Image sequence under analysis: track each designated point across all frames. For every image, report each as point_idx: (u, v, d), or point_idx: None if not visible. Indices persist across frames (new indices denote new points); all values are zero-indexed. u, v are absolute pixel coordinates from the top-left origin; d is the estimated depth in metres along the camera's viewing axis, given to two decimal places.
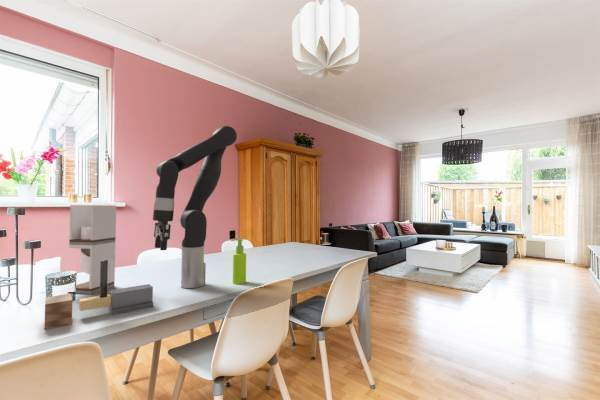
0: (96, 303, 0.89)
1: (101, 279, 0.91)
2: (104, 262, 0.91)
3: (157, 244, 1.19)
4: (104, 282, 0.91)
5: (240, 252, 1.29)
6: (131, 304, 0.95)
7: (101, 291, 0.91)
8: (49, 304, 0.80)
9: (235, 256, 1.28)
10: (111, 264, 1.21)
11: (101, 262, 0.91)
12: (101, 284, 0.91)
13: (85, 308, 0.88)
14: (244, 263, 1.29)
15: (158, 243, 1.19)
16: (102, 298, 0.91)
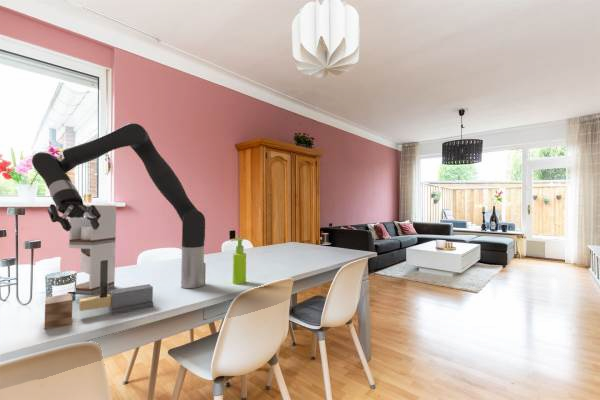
0: (96, 303, 0.89)
1: (101, 279, 0.91)
2: (104, 262, 0.91)
3: (93, 225, 1.01)
4: (104, 282, 0.91)
5: (240, 252, 1.29)
6: (131, 304, 0.95)
7: (101, 291, 0.91)
8: (49, 304, 0.80)
9: (235, 256, 1.28)
10: (111, 264, 1.21)
11: (101, 262, 0.91)
12: (101, 284, 0.91)
13: (85, 308, 0.88)
14: (244, 263, 1.29)
15: (93, 223, 1.01)
16: (102, 298, 0.91)
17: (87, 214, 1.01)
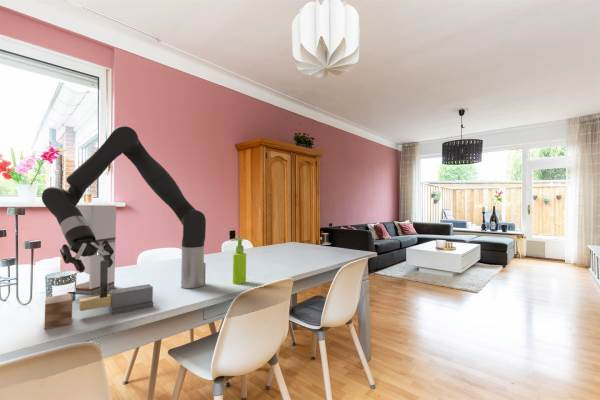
0: (96, 303, 0.89)
1: (101, 279, 0.91)
2: (104, 262, 0.91)
3: None
4: (104, 282, 0.91)
5: (240, 252, 1.29)
6: (131, 304, 0.95)
7: (101, 291, 0.91)
8: (49, 304, 0.80)
9: (235, 256, 1.28)
10: None
11: (101, 262, 0.91)
12: (101, 284, 0.91)
13: (85, 308, 0.88)
14: (244, 263, 1.29)
15: None
16: (102, 298, 0.91)
17: (100, 251, 0.98)
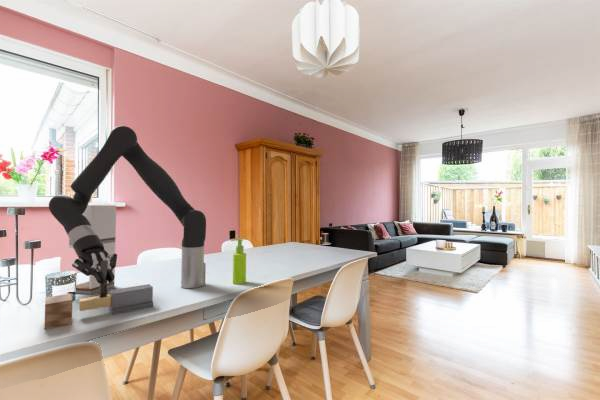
0: (96, 303, 0.89)
1: None
2: (104, 262, 0.91)
3: (108, 278, 0.92)
4: None
5: (240, 252, 1.29)
6: (131, 304, 0.95)
7: (101, 291, 0.91)
8: (49, 304, 0.80)
9: (235, 256, 1.28)
10: None
11: (101, 262, 0.91)
12: None
13: (85, 308, 0.88)
14: (244, 263, 1.29)
15: (108, 276, 0.93)
16: (102, 298, 0.91)
17: None
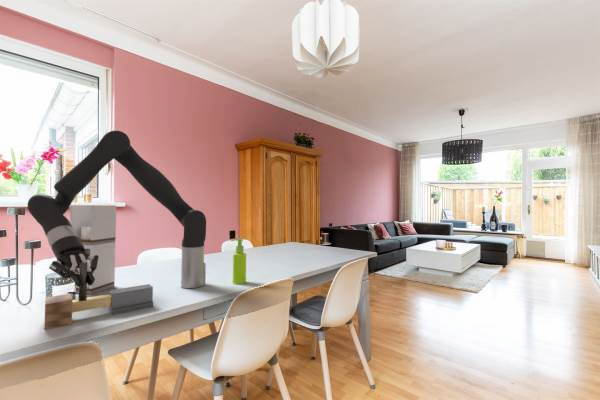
0: (74, 307, 0.86)
1: None
2: (83, 264, 0.88)
3: (88, 280, 0.89)
4: None
5: (240, 252, 1.29)
6: (131, 304, 0.95)
7: (80, 294, 0.87)
8: (49, 304, 0.80)
9: (235, 256, 1.28)
10: (111, 264, 1.21)
11: (80, 264, 0.88)
12: None
13: None
14: (244, 263, 1.29)
15: (88, 278, 0.89)
16: (81, 302, 0.87)
17: None
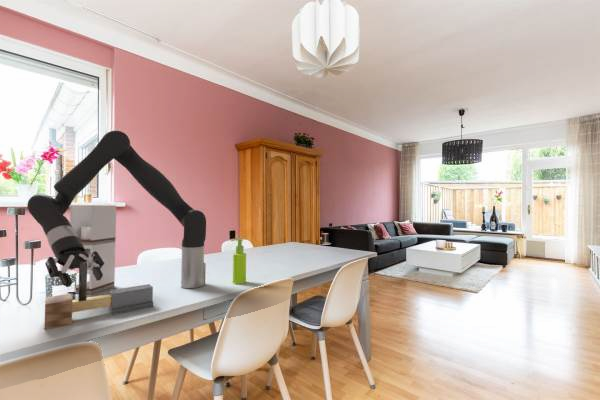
0: (74, 307, 0.86)
1: (80, 282, 0.87)
2: (83, 264, 0.88)
3: (96, 276, 0.92)
4: (83, 285, 0.88)
5: (240, 252, 1.29)
6: (131, 304, 0.95)
7: (80, 294, 0.87)
8: (49, 304, 0.80)
9: (235, 256, 1.28)
10: (111, 264, 1.21)
11: (80, 264, 0.88)
12: (80, 287, 0.87)
13: None
14: (244, 263, 1.29)
15: (96, 274, 0.92)
16: (81, 302, 0.87)
17: (89, 263, 0.92)
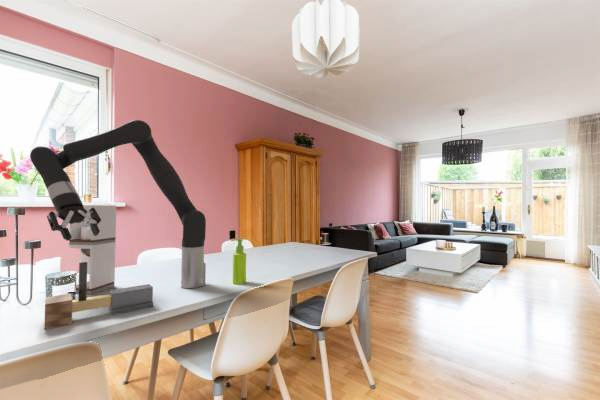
0: (74, 307, 0.86)
1: (80, 282, 0.87)
2: (83, 264, 0.88)
3: (93, 231, 1.01)
4: (83, 285, 0.88)
5: (240, 252, 1.29)
6: (131, 304, 0.95)
7: (80, 294, 0.87)
8: (49, 304, 0.80)
9: (235, 256, 1.28)
10: (111, 264, 1.21)
11: (80, 264, 0.88)
12: (80, 287, 0.87)
13: None
14: (244, 263, 1.29)
15: (93, 229, 1.00)
16: (81, 302, 0.87)
17: (87, 219, 1.00)
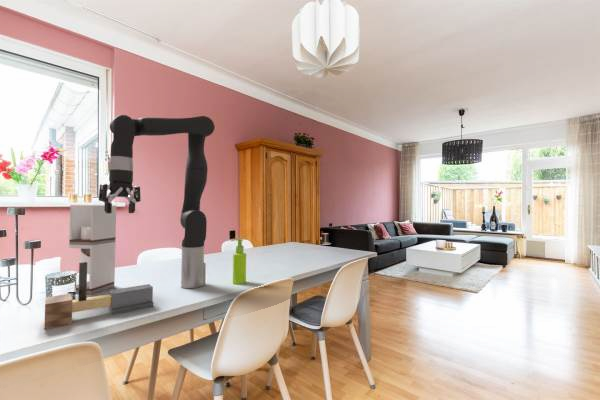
0: (74, 307, 0.86)
1: (80, 282, 0.87)
2: (83, 264, 0.88)
3: (130, 209, 1.09)
4: (83, 285, 0.88)
5: (240, 252, 1.29)
6: (131, 304, 0.95)
7: (80, 294, 0.87)
8: (49, 304, 0.80)
9: (235, 256, 1.28)
10: (111, 264, 1.21)
11: (80, 264, 0.88)
12: (80, 287, 0.87)
13: None
14: (244, 263, 1.29)
15: (130, 208, 1.09)
16: (81, 302, 0.87)
17: (130, 197, 1.08)
